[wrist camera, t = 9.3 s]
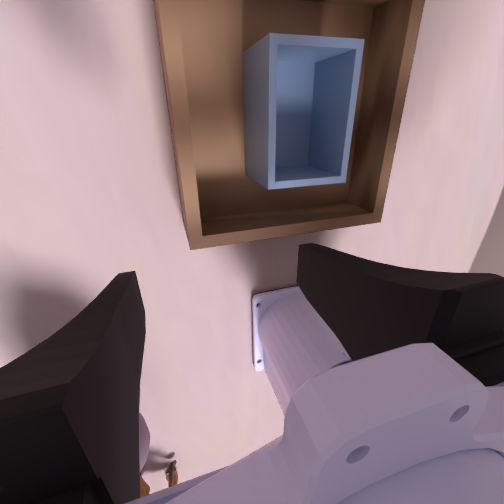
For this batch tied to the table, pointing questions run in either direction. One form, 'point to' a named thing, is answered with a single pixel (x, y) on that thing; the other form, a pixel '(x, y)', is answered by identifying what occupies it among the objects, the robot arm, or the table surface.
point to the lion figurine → (170, 477)
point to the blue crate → (299, 108)
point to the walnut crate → (232, 112)
